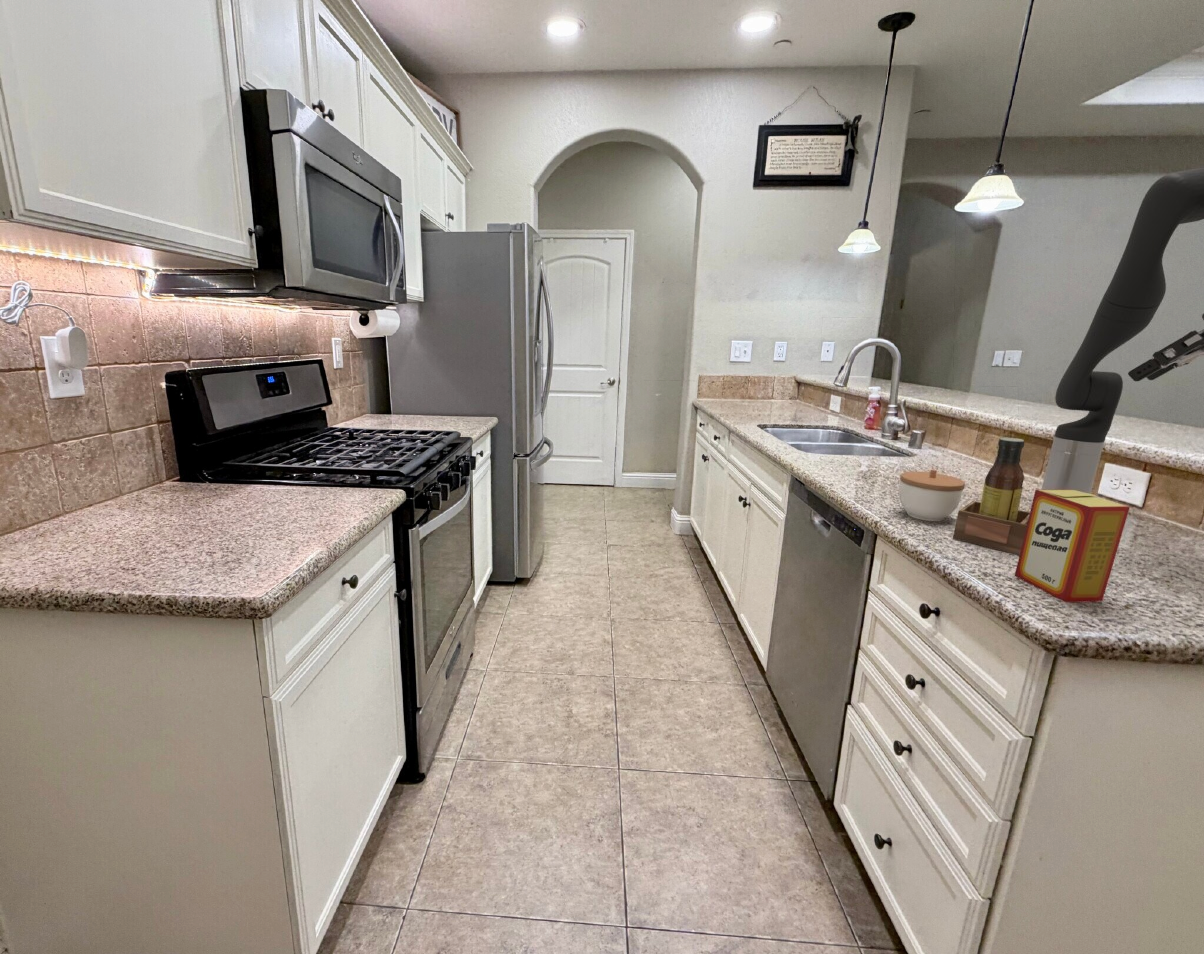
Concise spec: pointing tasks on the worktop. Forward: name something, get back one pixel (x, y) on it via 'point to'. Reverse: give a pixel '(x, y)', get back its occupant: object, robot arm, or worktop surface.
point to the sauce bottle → (1004, 482)
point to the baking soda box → (1071, 544)
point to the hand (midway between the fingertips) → (1139, 377)
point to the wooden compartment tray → (990, 529)
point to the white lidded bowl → (929, 494)
